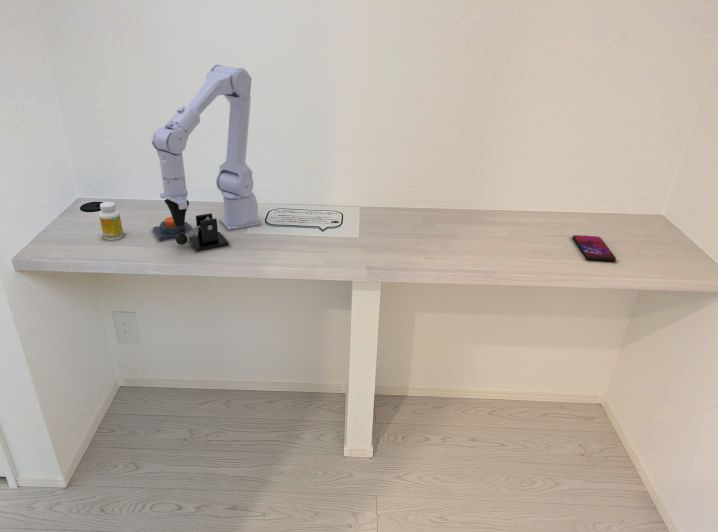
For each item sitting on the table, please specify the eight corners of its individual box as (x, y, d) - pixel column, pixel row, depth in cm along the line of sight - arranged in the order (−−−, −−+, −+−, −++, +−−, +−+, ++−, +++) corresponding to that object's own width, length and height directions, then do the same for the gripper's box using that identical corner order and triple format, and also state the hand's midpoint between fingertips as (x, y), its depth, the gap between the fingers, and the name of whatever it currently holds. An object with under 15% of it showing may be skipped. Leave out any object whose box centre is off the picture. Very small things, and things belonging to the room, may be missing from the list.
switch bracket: (196, 252, 155) (194, 225, 151) (188, 241, 162) (185, 215, 158) (228, 246, 159) (226, 220, 155) (219, 235, 165) (217, 209, 161)
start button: (177, 221, 167) (177, 215, 166) (181, 226, 164) (180, 220, 163) (164, 223, 165) (163, 217, 164) (167, 228, 162) (166, 223, 161)
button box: (187, 225, 171) (186, 215, 169) (194, 235, 165) (193, 225, 163) (153, 231, 167) (151, 221, 165) (159, 241, 161) (158, 231, 159)
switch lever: (180, 248, 155) (174, 239, 153) (177, 244, 158) (171, 235, 156) (215, 227, 157) (210, 218, 155) (212, 223, 160) (206, 214, 158)
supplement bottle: (117, 241, 161) (111, 208, 156) (99, 239, 162) (93, 206, 157) (126, 233, 165) (121, 201, 160) (109, 231, 166) (103, 199, 161)
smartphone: (600, 236, 165) (617, 259, 152) (599, 239, 166) (616, 262, 153) (572, 234, 166) (587, 257, 153) (571, 237, 166) (586, 260, 153)
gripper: (151, 170, 151) (158, 218, 158) (164, 187, 140) (171, 238, 147) (178, 166, 154) (183, 214, 161) (193, 183, 142) (198, 233, 149)
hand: (179, 225), depth 154 cm, fingers closed
